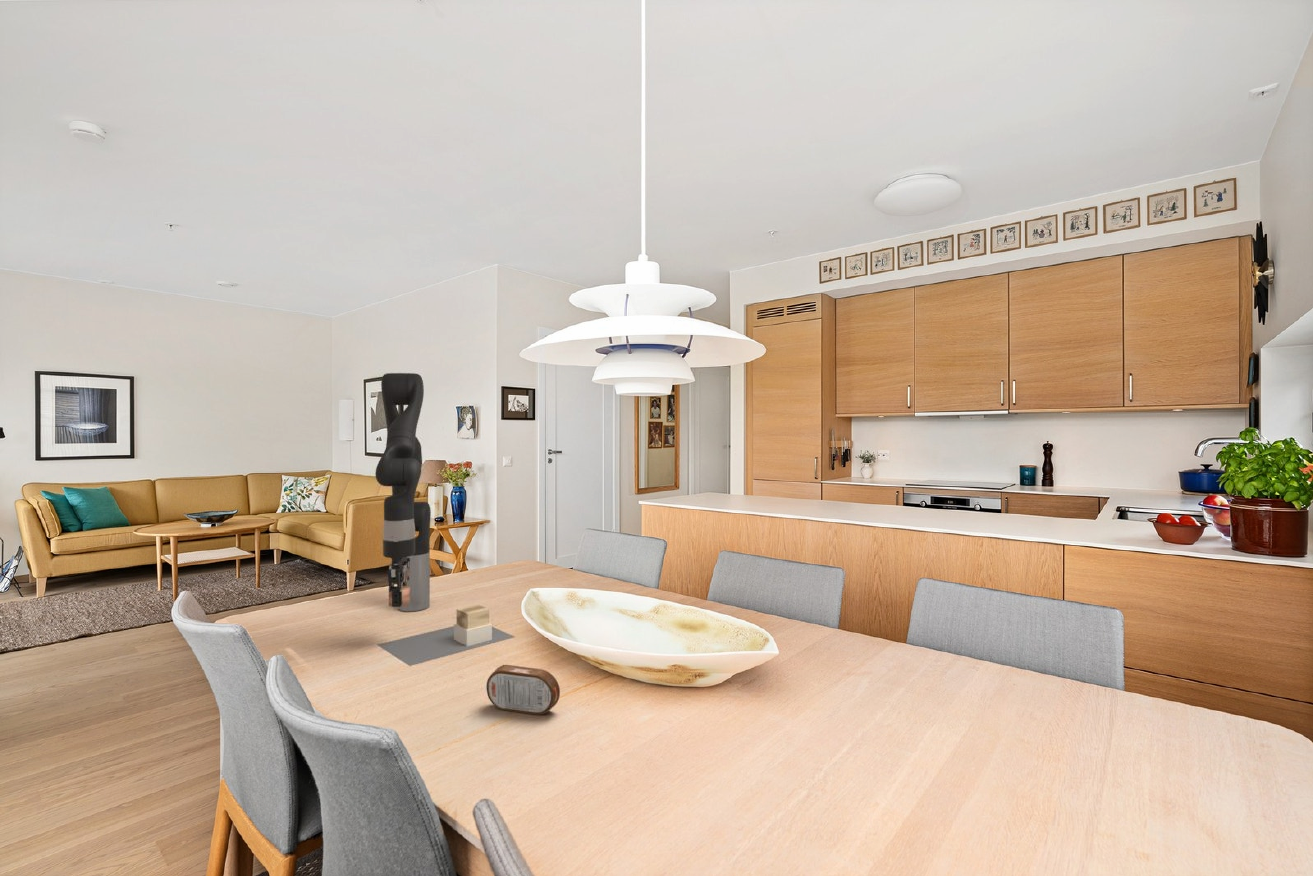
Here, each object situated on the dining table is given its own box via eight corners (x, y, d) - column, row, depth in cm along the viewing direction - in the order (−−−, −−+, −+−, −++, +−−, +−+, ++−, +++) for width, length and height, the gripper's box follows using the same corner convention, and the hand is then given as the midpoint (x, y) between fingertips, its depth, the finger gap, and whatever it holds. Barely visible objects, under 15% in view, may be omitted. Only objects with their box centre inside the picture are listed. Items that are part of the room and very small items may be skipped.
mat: (376, 648, 152) (376, 644, 152) (477, 623, 172) (477, 620, 172) (409, 670, 138) (409, 665, 138) (515, 640, 158) (515, 636, 158)
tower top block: (456, 624, 156) (456, 609, 156) (477, 619, 160) (477, 604, 160) (467, 629, 152) (467, 613, 152) (489, 624, 156) (489, 609, 156)
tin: (560, 712, 118) (560, 669, 118) (553, 719, 114) (553, 675, 114) (492, 703, 122) (492, 661, 122) (483, 709, 119) (483, 667, 119)
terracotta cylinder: (385, 604, 153) (385, 588, 153) (405, 600, 156) (405, 584, 156) (393, 608, 149) (393, 592, 149) (413, 604, 153) (413, 588, 153)
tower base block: (453, 639, 156) (453, 624, 156) (478, 633, 161) (478, 618, 161) (466, 646, 151) (466, 630, 151) (491, 639, 156) (491, 624, 156)
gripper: (390, 532, 159) (390, 596, 159) (375, 542, 145) (376, 612, 145) (420, 531, 160) (420, 594, 160) (408, 541, 146) (409, 611, 146)
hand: (399, 603), depth 153 cm, fingers closed on terracotta cylinder, 5 cm apart
